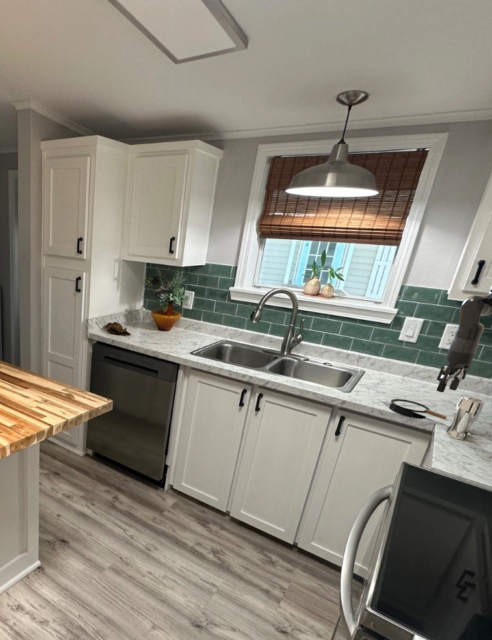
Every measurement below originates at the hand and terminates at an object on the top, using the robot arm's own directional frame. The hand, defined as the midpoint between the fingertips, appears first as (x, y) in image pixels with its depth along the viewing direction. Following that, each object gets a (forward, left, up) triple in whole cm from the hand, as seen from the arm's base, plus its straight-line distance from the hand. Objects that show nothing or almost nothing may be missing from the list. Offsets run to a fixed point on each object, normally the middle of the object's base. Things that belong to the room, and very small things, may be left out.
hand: (446, 390), depth 157 cm
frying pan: (+7, 0, -14) cm, 16 cm away
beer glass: (-10, +5, -14) cm, 18 cm away
